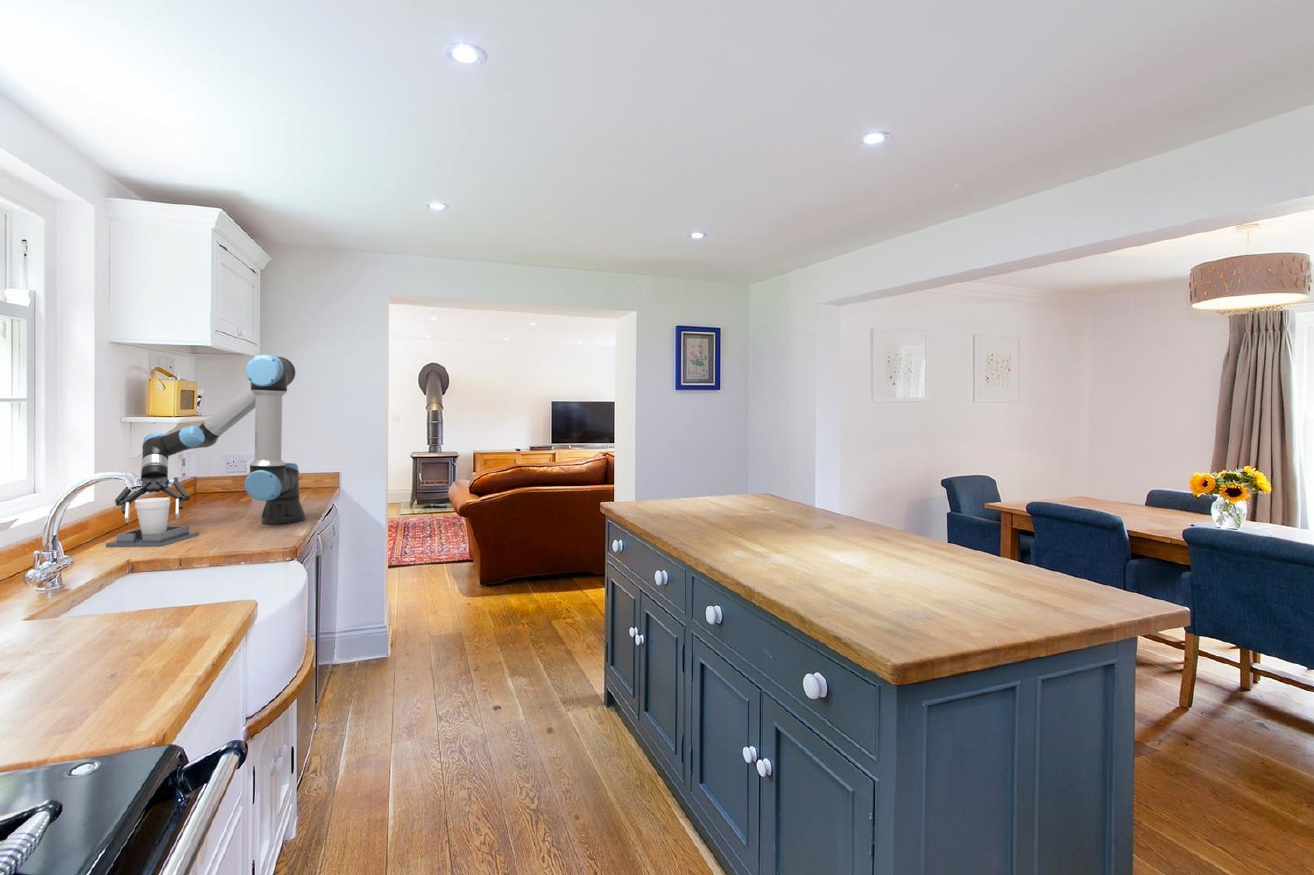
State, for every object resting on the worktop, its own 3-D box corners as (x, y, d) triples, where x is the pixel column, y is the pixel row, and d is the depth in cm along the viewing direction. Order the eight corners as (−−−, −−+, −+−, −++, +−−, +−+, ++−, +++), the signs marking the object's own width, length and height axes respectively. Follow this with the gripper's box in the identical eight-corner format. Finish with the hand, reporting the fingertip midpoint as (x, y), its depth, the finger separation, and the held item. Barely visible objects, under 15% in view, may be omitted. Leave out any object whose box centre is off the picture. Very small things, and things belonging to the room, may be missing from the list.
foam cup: (178, 535, 226) (176, 498, 225) (149, 540, 217) (147, 502, 216) (158, 533, 229) (157, 497, 228) (130, 539, 220) (128, 501, 220)
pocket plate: (147, 535, 232) (147, 525, 232) (198, 535, 232) (198, 524, 232) (105, 547, 214) (105, 535, 214) (161, 546, 214) (160, 535, 214)
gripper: (198, 474, 242) (198, 520, 230) (111, 479, 228) (106, 528, 216) (196, 461, 237) (196, 507, 225) (107, 465, 223) (102, 515, 212)
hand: (152, 518), depth 221 cm, fingers open, 13 cm apart
